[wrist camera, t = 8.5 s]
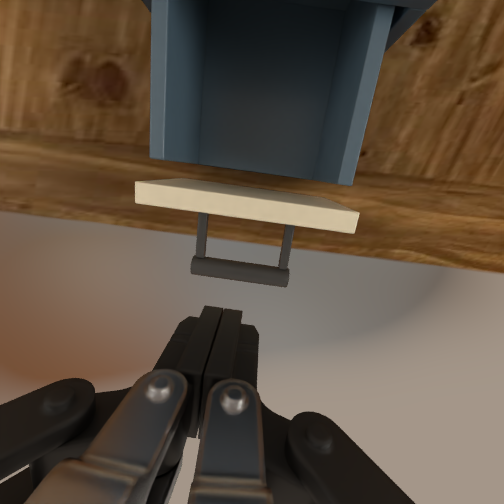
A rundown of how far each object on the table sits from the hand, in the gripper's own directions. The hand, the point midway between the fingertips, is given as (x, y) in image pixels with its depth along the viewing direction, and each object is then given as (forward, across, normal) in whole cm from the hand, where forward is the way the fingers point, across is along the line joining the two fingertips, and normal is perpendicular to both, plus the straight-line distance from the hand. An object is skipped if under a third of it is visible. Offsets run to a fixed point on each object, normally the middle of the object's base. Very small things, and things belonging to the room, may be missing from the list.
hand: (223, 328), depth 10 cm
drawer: (+14, 0, +8) cm, 16 cm away
